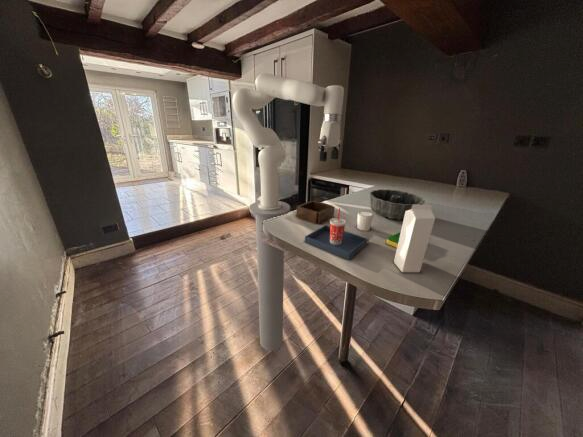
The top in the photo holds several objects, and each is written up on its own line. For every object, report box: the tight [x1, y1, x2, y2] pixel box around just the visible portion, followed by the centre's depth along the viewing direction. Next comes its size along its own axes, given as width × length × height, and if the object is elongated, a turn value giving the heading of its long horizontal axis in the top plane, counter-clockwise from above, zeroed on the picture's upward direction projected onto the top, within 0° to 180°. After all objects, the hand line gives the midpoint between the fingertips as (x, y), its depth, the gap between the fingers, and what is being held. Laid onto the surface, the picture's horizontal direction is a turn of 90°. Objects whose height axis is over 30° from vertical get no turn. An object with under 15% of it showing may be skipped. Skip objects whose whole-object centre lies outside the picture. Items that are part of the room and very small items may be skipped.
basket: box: [295, 200, 336, 225], centre depth 116 cm, size 14×14×6 cm
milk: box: [393, 204, 436, 273], centre depth 73 cm, size 6×6×22 cm
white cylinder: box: [356, 210, 375, 232], centre depth 104 cm, size 7×7×7 cm
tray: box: [304, 224, 369, 261], centre depth 91 cm, size 19×15×2 cm
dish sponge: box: [386, 231, 401, 249], centre depth 93 cm, size 7×14×2 cm, turn 128°
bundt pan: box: [369, 189, 426, 221], centre depth 121 cm, size 26×26×10 cm
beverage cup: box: [329, 208, 347, 245], centre depth 88 cm, size 6×6×14 cm
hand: (328, 160), depth 105 cm, fingers open, 9 cm apart
